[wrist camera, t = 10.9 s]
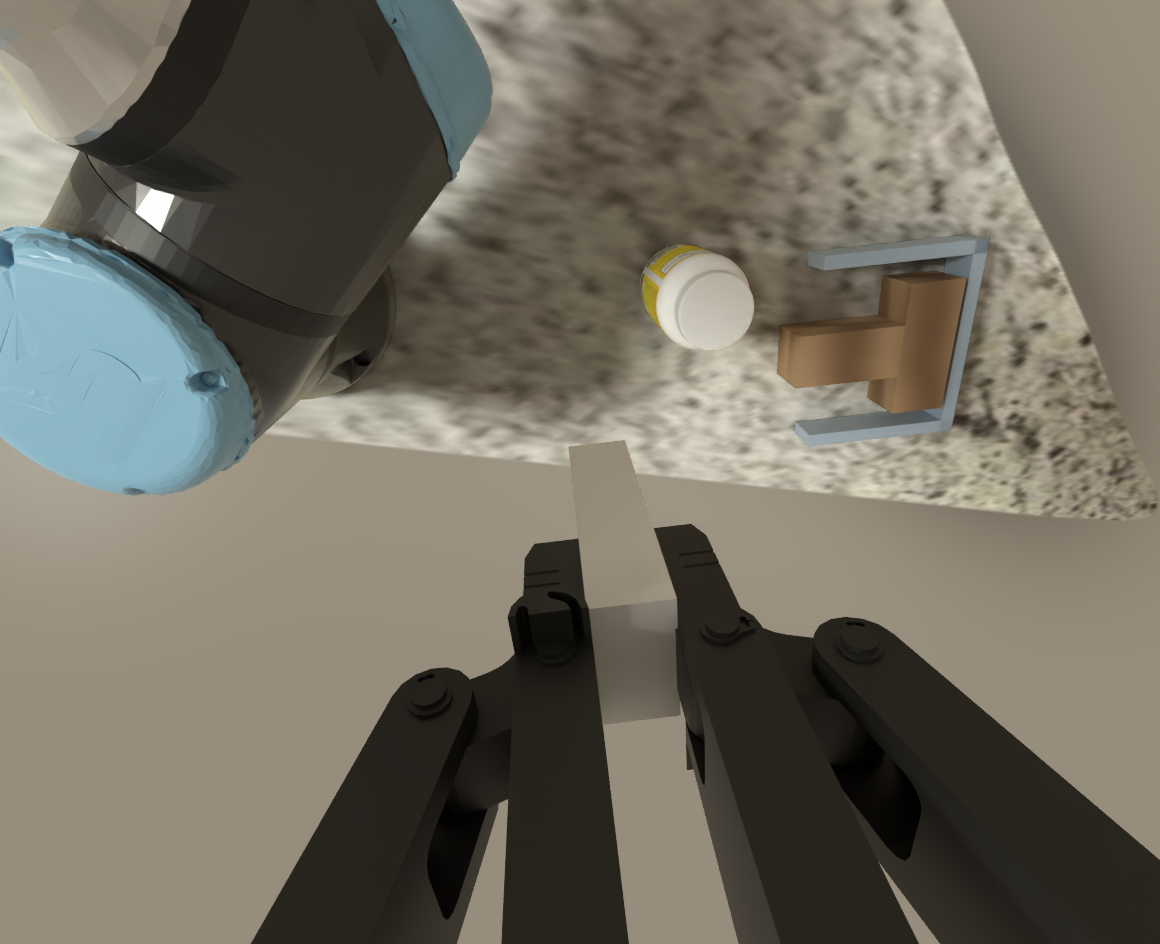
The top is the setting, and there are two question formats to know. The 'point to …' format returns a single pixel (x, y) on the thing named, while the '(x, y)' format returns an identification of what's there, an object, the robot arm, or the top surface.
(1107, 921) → the robot arm
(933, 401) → the t block
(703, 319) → the pill bottle
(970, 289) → the dock
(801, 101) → the top surface
